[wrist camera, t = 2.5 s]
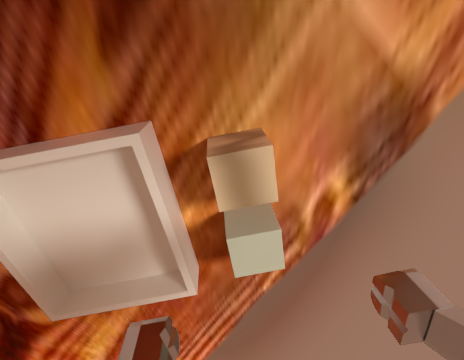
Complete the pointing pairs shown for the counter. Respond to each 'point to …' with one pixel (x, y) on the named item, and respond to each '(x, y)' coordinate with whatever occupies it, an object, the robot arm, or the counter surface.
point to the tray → (94, 223)
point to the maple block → (242, 169)
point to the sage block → (254, 240)
